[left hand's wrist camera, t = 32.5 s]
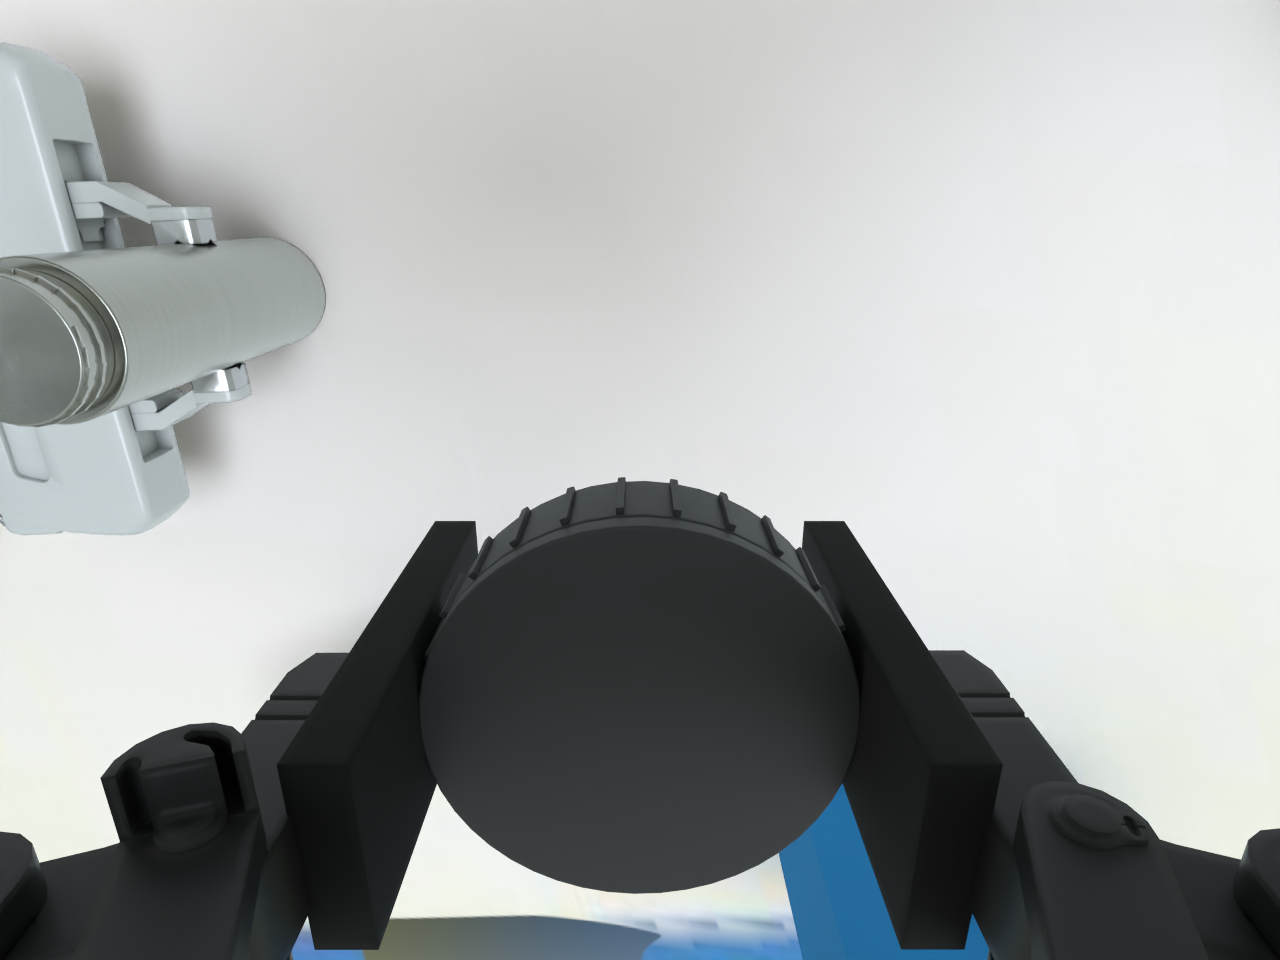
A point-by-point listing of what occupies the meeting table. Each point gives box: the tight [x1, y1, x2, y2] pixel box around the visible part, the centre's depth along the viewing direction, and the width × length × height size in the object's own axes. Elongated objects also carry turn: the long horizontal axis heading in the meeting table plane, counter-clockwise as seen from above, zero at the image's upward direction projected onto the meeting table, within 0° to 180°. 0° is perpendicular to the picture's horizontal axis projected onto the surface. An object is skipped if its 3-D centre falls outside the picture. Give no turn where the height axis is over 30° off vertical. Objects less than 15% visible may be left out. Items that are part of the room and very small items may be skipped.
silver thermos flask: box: [0, 237, 325, 428], centre depth 30 cm, size 5×5×17 cm
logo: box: [779, 783, 989, 960], centre depth 40 cm, size 20×8×20 cm, turn 83°
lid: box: [418, 477, 861, 894], centre depth 11 cm, size 6×6×2 cm
